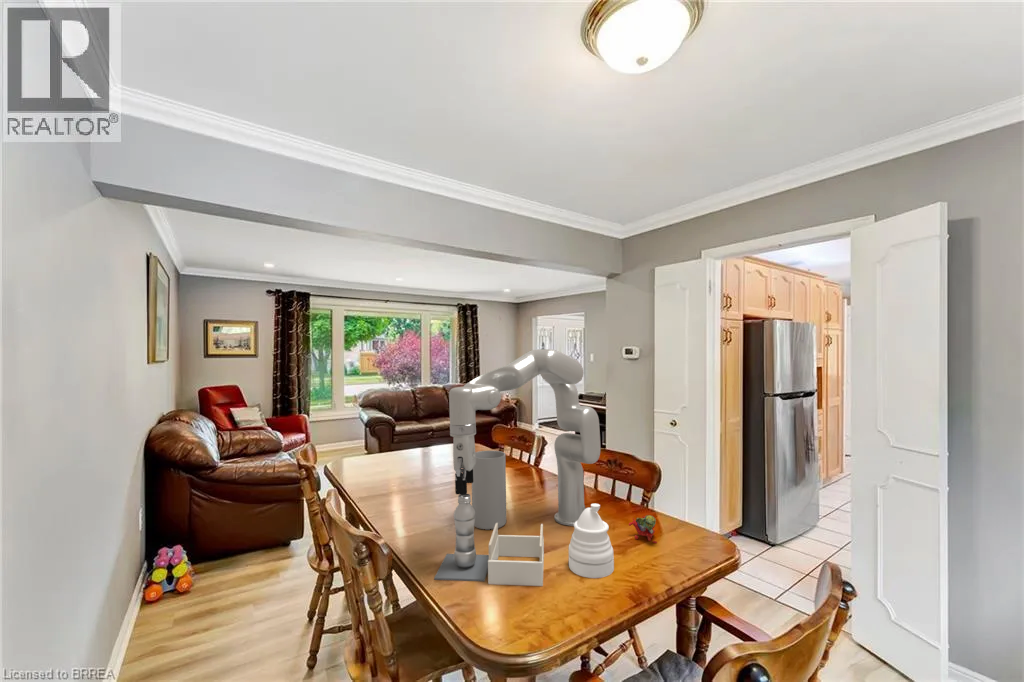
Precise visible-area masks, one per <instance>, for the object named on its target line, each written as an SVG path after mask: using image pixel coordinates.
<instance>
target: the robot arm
mask: <svg viewBox="0 0 1024 682" xmlns="http://www.w3.org/2000/svg"><path fill="white" fill-rule="evenodd" d="M539 375H540V376H541V378H542V380H544V381H545V382H546V383H547V384H548V385H549V386H550V387H551V388H552V390H553V392H554V397H555V413H556V422H557V425H558V427H559V428H560V429H562V430H565V431H569V432H570V431H571V433H569V432H563V433H561V434H559V435H558V436H556V438H555V440H554V444H553V446H554V448H553V449H554V454H555V458H556V463H557V464H556V465H557V499H558V500H557V501H558V502H557V503H558V504H557V505H558V507H557V508H558V512H556V513H555V514H554V516H553V517H554V521H555V522H557V523H558V524H561V525H563V526H568V527H569V526H571V527H574V523H575V522H576V521H577V520H578V519H579V517H580V515H581V514H582V512H583V511H584V510H585V509H586V508H587V507H586V505H585V483H584V481H585V480H584V477H585V476H584V468H583V465H582V464H588V465H592V464H595V463H597V462H598V460H599V458H600V455H601V432H600V429H601V428H600V419H599V415H598V413H597V411H596V409H594V408H593V407H590V406H587V405H581V404H580V400H579V391H578V388H577V386H576V385H577V384H578V383H580V382H581V381H582V379H583V377H584V368H583V365H582V364H581V362H579V361H578V360H576V359H575V358H573V357H571V356H569V355H567V354H566V353H564V352H561V351H558V350H557V349H550V348H548V349H541V348H539V349H532V350H530V351H528V352H526V353H524V354H523V355H521V356H519V357H518V358H515V360H513V361H512V362H510V363H508V364H506V365H503V366H501V367H498V368H496V369H493V370H490V371H488V372H485V373H483V374H481V375H478V376H476V377H475V378H473V379H472V380H470V381H469V382H468V381H467V383H465V384H464V385H463V386H457V387H452V388H451V389H450V390H449V392H448V399H449V400H448V401H449V402H448V405H449V406H448V408H449V435H450V437H452V438H453V442H452V446H453V449H452V457H453V458H452V460H453V461H452V462H453V470H454V471H455V474H454V485H455V487H454V490H455V491H454V492H455V493H454V494H455V495H460V494H468V484H472V483H473V467H474V465H475V464H476V454H475V452H476V444H475V443H476V442H475V435H476V434H477V427H476V426H477V423H476V411H478V410H479V411H489V410H494V409H495V408H497V407H498V405H500V403H501V400H502V398H501V397H502V394H501V393H502V392H506V391H513V390H515V389H519V388H522V387H523V386H525V384H527V383H529V382H530V381H531V380H533V379H534V378H536V377H537V376H539ZM572 432H575V433H572ZM577 433H580V434H577Z"/></svg>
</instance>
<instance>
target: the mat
mask: <svg viewBox="0 0 1024 682" xmlns="http://www.w3.org/2000/svg"><path fill="white" fill-rule="evenodd" d="M488 560H489V554H476V561H475V563H474V564H473V565H472V566H470V567H467V568H461V567H458V566H457V565H456V563H455V560H454V553H446V554H445V557H444V558H443V560H442V562H441V564H440V567H439V568H438V570H437V572H436V574H435V575H434V579H433V580H437V581H458V582H459V581H461V582H463V581H465V582H485V581H486V579H487V576H488Z"/></svg>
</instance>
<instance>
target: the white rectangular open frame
mask: <svg viewBox="0 0 1024 682" xmlns="http://www.w3.org/2000/svg"><path fill="white" fill-rule="evenodd" d="M492 530H493V531H492V533H491V536H490V540H489V542H488V555H489V560H488V572H487V581H488V583H487V584H488V585H499V586H500V585H504V586H526V587H527V586H533V587H543V586H544V561H545V559H544V558H545V549H544V548H545V544H544V542H545V541H544V538H545V537H544V524H543V523H540V533H539V534H540V535H520V534H519V535H516V534H515V535H513V534H499V531H498V530H499V528H498V523H496V524H495V527H494V529H492ZM499 557H517V558H518V557H519V558H522V557H524V558H525V557H527V558H539V561H534V560H533V561H531V560H504V559H503V560H499Z"/></svg>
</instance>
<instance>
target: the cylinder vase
mask: <svg viewBox="0 0 1024 682" xmlns="http://www.w3.org/2000/svg"><path fill="white" fill-rule="evenodd" d="M475 454H476V464H475V465H474V467H473V483H471V505H472V507H473V508H474V510H475V523H474V528H477V529H480V530H484V529H485V530H487V531H488V530H490V529H491V530H494V527H495V524H496V523H498V529H501V528H502V527H504V526H505V525H506V524H507V475H506V474H507V472H506V471H507V469H506V468H507V467H506V462H507V461H506V453H505V452H504V451H500V450H482V451H475ZM491 530H490V531H491Z"/></svg>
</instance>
